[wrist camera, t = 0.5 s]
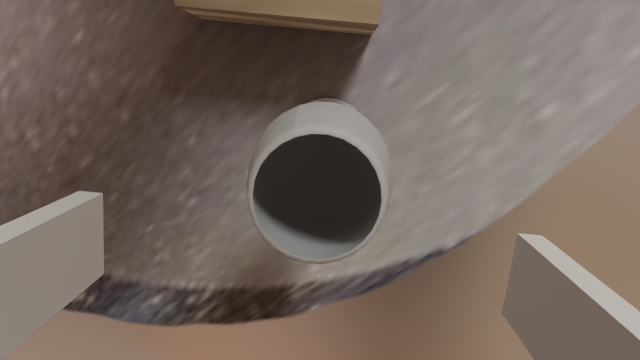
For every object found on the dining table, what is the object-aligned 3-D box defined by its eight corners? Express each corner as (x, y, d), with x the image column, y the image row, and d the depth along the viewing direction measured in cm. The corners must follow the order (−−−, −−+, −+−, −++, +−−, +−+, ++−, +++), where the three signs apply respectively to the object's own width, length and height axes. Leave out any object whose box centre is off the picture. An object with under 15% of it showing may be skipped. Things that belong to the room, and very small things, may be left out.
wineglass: (300, 193, 41) (263, 302, 21) (271, 111, 40) (201, 140, 19) (381, 167, 40) (428, 253, 20) (355, 83, 39) (376, 81, 18)
